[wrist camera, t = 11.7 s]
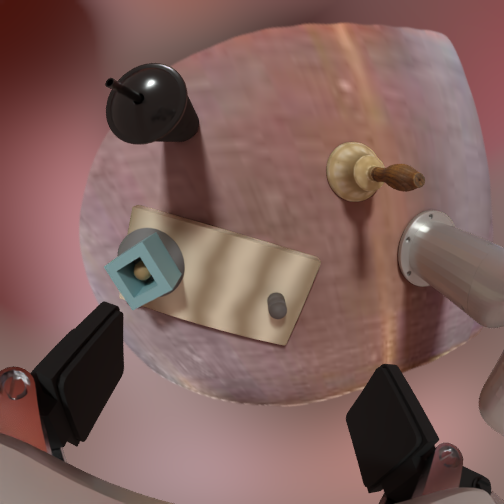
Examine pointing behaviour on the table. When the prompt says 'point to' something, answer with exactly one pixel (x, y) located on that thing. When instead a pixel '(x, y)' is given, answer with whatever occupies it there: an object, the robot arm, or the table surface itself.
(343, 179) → the hand bell
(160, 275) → the collar
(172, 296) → the base board
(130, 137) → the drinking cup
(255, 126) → the table surface
